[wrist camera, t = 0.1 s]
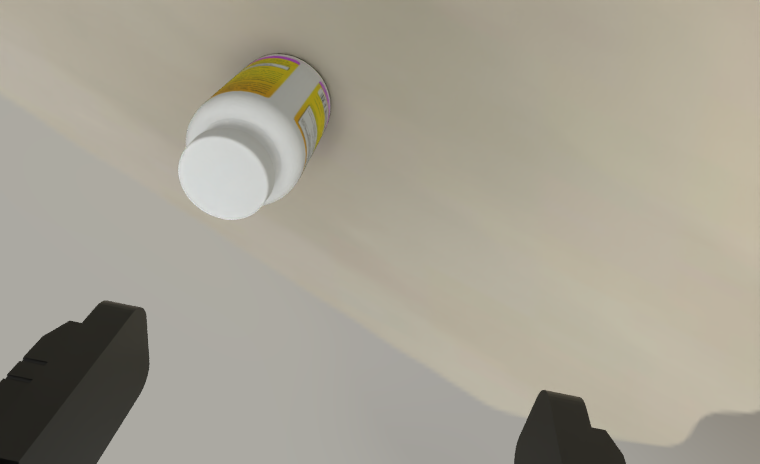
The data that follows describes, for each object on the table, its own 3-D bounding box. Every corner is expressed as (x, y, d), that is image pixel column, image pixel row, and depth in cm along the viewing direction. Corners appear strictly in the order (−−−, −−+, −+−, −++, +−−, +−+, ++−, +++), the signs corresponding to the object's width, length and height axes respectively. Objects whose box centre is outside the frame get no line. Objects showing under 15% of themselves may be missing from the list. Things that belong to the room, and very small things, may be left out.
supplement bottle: (220, 96, 39) (131, 172, 28) (281, 30, 37) (209, 86, 26) (290, 163, 41) (232, 258, 30) (352, 105, 39) (314, 186, 28)
